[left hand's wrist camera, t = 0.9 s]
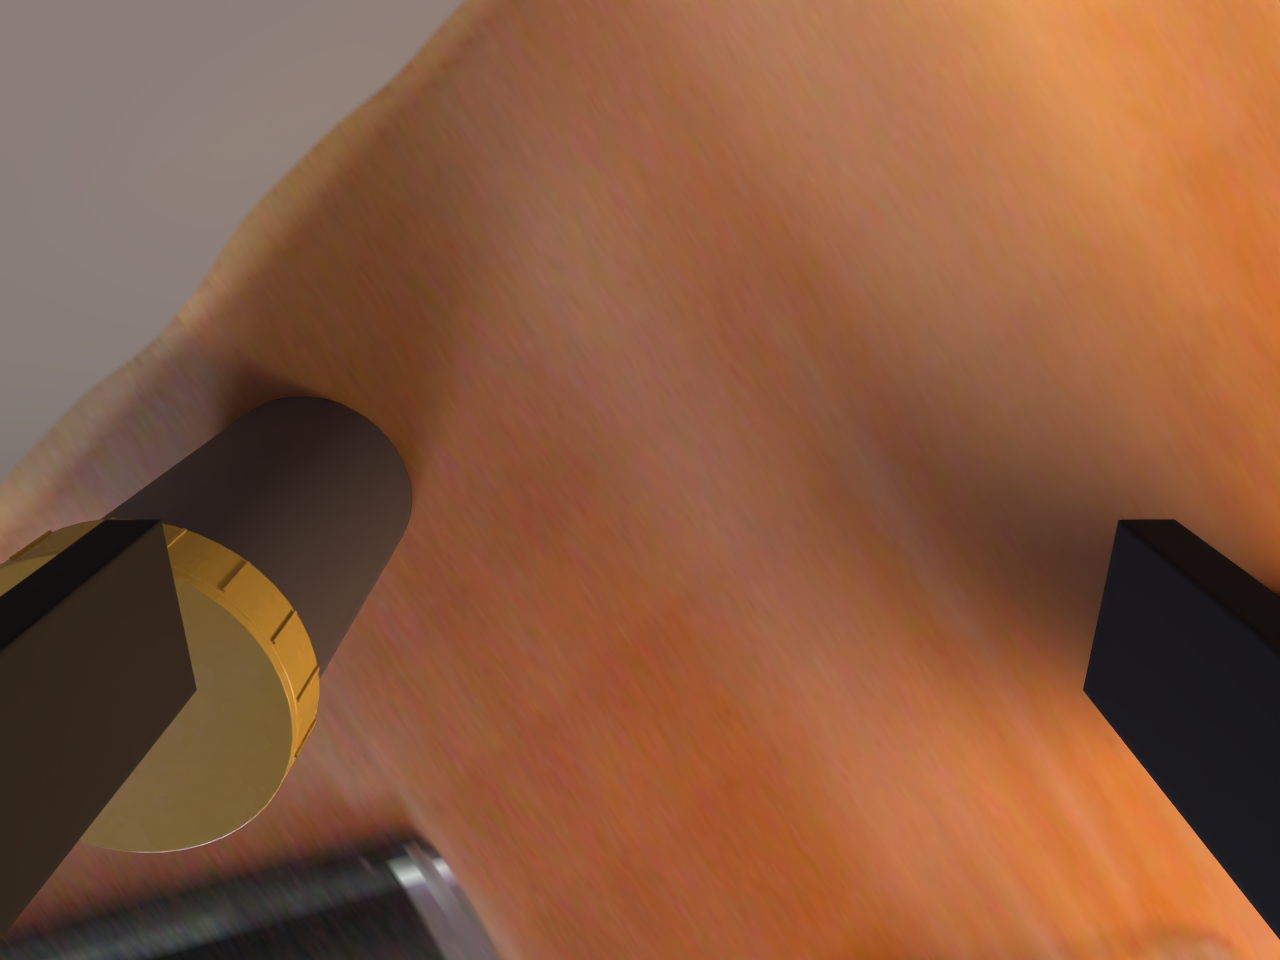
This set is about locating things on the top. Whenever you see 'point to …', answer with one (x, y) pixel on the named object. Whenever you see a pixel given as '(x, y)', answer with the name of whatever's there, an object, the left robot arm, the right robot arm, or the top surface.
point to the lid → (209, 700)
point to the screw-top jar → (294, 506)
